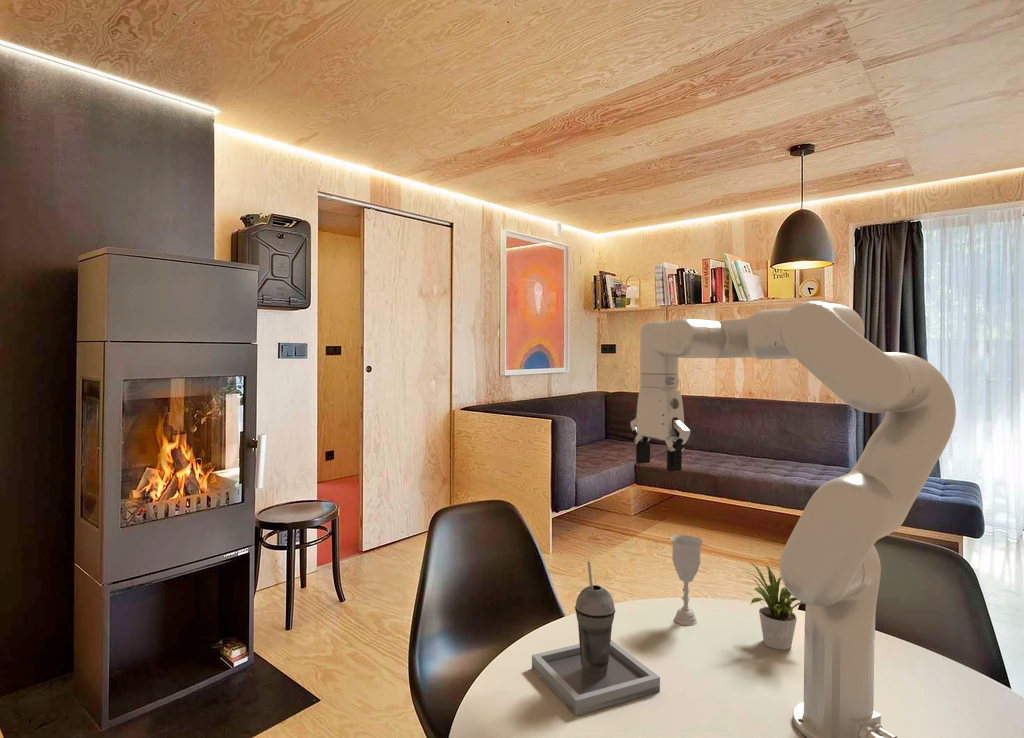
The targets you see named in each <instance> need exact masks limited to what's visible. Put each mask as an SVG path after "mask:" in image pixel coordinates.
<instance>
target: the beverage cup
mask: <svg viewBox="0 0 1024 738" xmlns="http://www.w3.org/2000/svg"><path fill="white" fill-rule="evenodd" d="M587 571H588V581H589V585H588V586H587V587H585V588H583V589H582V590H581V591H580V592H579V594H578V596H577V598H576V601H575V605H574V610H575V614H576V615H575V616H576V620H577V621H576V622H577V628H578V639H579V640H578V642H579V644H580V655H581V665H582V673H583V674H584V675H585V676H586V677H588V678H592V679H601V678H604V677H605V676H606V675H607V669H608V663H609V652H610V642H611V640H612V629H613V623H614V619H615V614H616V609H615V603H614V599H613V597H612V595H611V593H610V592H609V591H608V590H607V589H606V588H604V587H602V586H600V585H597V584H596V585H595V584H594V583H593V575H592V574H593V573H592V567H591V561H587Z"/></svg>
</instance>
